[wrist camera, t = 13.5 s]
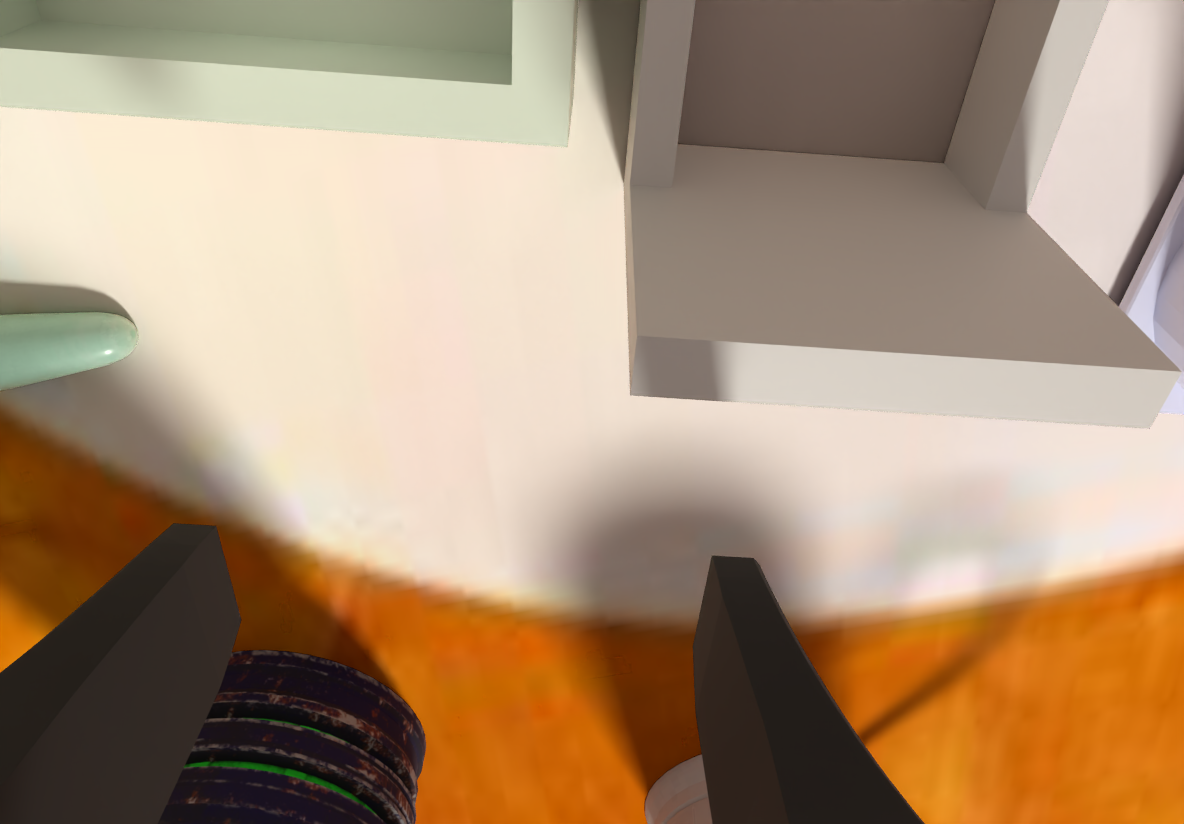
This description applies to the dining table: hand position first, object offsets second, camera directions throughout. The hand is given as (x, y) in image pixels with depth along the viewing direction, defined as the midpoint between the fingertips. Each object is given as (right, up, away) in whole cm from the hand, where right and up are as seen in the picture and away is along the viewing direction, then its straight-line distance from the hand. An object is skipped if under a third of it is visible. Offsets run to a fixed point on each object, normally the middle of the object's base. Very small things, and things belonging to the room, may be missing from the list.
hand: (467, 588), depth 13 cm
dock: (+6, +9, +5) cm, 12 cm away
